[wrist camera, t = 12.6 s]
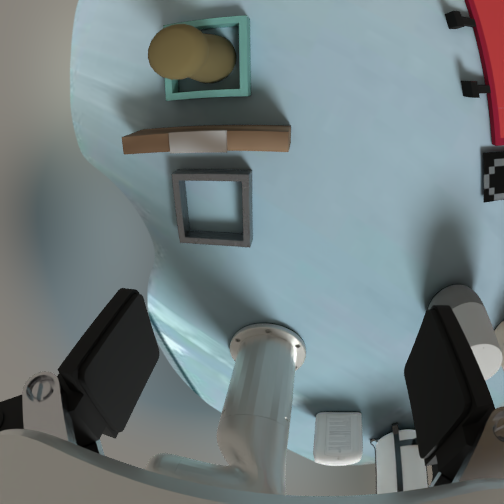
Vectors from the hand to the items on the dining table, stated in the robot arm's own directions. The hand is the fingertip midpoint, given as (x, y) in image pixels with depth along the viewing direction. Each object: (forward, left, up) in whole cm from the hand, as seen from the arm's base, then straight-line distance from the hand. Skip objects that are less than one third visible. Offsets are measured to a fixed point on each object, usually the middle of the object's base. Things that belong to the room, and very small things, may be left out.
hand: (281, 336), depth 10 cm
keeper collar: (-7, +10, -28) cm, 31 cm away
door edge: (+2, +10, -28) cm, 30 cm away
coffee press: (-62, -31, -28) cm, 75 cm away
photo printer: (-53, -13, -28) cm, 62 cm away
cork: (+11, +10, -28) cm, 32 cm away
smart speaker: (-20, -25, -28) cm, 43 cm away
